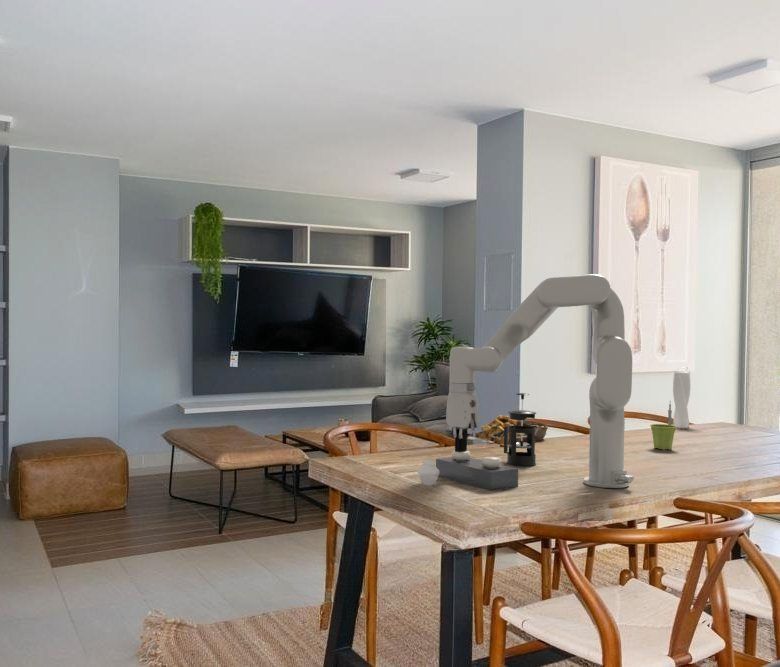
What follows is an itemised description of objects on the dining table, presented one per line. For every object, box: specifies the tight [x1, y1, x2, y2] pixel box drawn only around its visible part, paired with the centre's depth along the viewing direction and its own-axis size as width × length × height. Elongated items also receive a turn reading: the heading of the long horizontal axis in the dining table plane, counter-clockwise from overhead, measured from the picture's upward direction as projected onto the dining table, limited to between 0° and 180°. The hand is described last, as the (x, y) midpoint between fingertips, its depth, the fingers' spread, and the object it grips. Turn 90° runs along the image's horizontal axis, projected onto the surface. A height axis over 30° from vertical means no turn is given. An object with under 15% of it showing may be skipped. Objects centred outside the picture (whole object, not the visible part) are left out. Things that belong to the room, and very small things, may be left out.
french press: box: [503, 392, 537, 468], centre depth 249 cm, size 12×9×23 cm
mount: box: [435, 456, 519, 492], centre depth 220 cm, size 24×10×5 cm, turn 35°
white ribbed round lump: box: [417, 459, 440, 487], centre depth 214 cm, size 6×6×7 cm
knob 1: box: [451, 449, 471, 462], centre depth 226 cm, size 5×5×6 cm
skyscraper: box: [667, 366, 691, 429], centre depth 346 cm, size 8×8×28 cm
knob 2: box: [481, 456, 502, 469], centre depth 215 cm, size 5×5×6 cm
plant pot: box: [649, 423, 677, 450], centre depth 286 cm, size 9×9×9 cm
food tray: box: [467, 414, 549, 448], centre depth 301 cm, size 35×26×11 cm
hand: (460, 451), depth 226 cm, fingers closed
